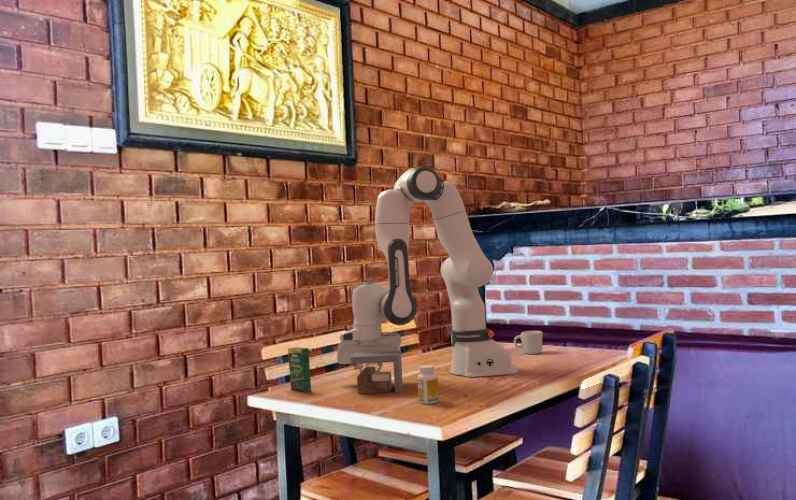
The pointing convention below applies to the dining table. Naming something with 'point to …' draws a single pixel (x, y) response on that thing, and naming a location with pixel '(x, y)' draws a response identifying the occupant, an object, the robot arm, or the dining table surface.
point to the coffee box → (299, 369)
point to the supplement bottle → (427, 385)
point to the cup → (530, 341)
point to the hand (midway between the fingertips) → (370, 376)
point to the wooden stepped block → (371, 382)
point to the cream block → (382, 377)
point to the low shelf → (382, 358)
